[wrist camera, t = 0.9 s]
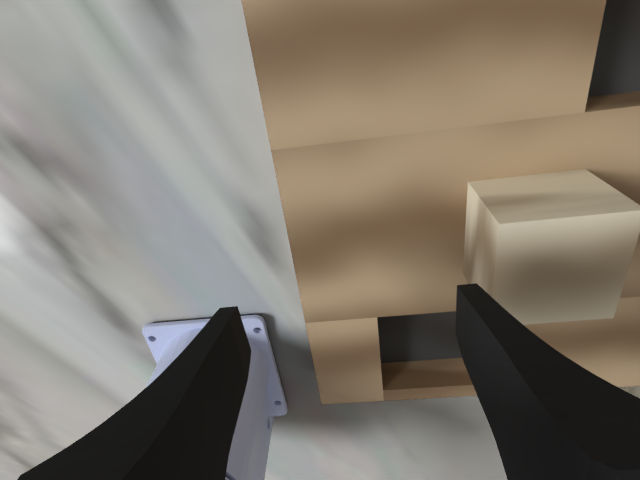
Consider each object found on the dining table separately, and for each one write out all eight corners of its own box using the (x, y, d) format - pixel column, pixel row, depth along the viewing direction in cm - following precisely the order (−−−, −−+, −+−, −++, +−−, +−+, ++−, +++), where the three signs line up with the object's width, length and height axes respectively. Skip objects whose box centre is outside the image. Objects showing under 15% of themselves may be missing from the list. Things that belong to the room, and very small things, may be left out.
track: (794, 342, 25) (872, 400, 22) (322, 373, 28) (320, 430, 25) (1121, -183, 13) (1421, -254, 10) (246, -38, 16) (220, -50, 13)
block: (565, 264, 20) (613, 318, 17) (462, 272, 21) (488, 327, 17) (585, 169, 18) (646, 209, 14) (467, 181, 18) (499, 224, 15)
